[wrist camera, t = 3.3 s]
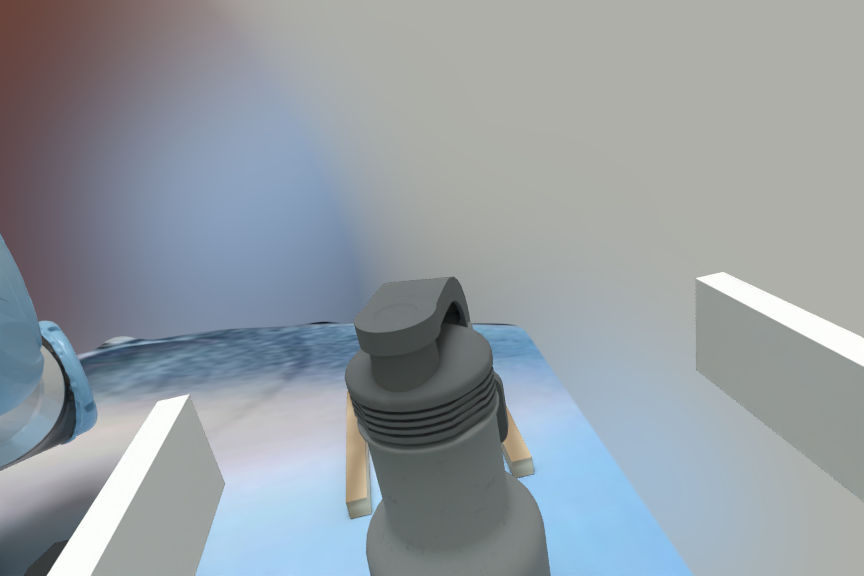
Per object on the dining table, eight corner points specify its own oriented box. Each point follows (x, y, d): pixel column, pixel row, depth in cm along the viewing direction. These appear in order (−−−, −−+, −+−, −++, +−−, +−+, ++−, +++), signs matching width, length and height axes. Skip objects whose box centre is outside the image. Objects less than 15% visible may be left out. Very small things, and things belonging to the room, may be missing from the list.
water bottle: (431, 612, 40) (345, 265, 30) (565, 622, 38) (519, 248, 28) (396, 776, 31) (255, 357, 21) (569, 803, 29) (503, 343, 19)
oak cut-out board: (350, 518, 51) (345, 502, 50) (350, 404, 69) (347, 391, 68) (534, 473, 52) (531, 457, 51) (485, 373, 70) (483, 359, 70)
